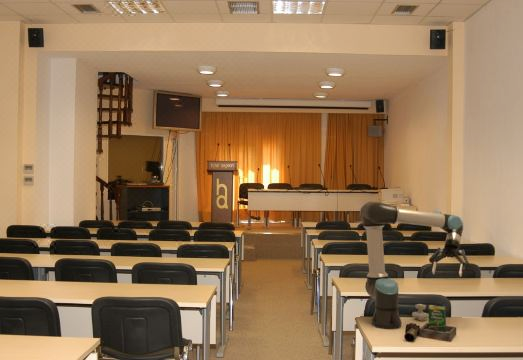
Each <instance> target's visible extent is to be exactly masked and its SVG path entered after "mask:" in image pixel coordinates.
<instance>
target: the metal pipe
mask: <svg viewBox="0 0 523 360" xmlns="http://www.w3.org/2000/svg"><path fill="white" fill-rule="evenodd" d="M420 328H421V326H420V325H419V324H417V323H414V322H410V323H407V324H406V325H405V329H404V333H405V334H404V335H403V336H404V339H405V341H406V342H409V343H413V342H414V341H415V340H416V338H417V336H418V335H419V329H420Z"/></svg>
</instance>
